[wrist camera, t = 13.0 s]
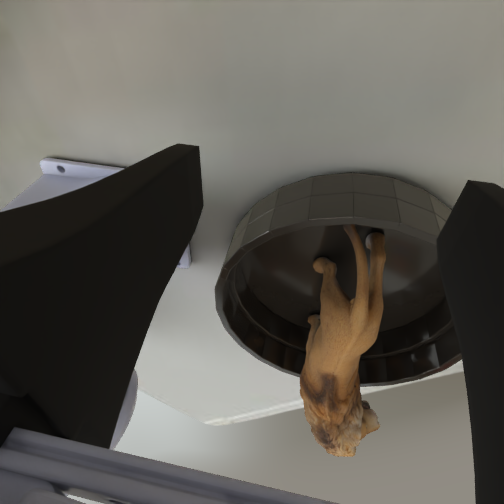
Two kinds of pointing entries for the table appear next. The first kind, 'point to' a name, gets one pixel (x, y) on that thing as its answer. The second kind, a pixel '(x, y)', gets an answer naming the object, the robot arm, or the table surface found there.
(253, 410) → the table surface
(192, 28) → the table surface
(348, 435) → the lion figurine
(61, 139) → the table surface
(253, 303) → the dark grey round bowl
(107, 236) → the robot arm
